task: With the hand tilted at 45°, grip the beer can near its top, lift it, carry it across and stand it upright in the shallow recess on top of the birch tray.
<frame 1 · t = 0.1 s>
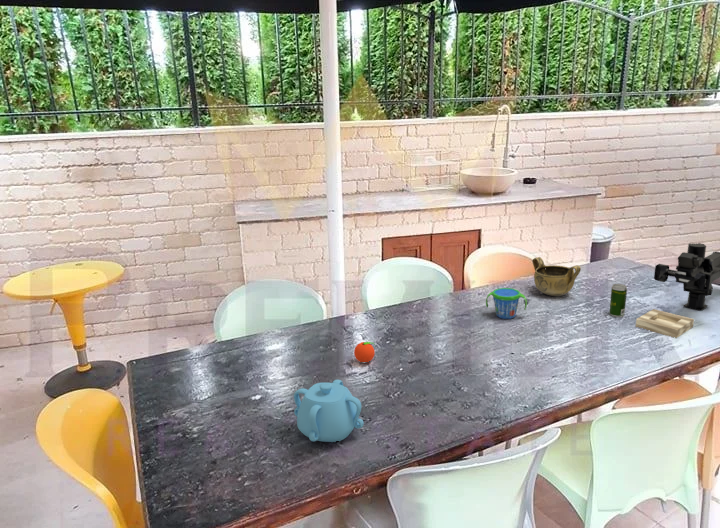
hand: (672, 282, 187), 17 cm above the table, tool horizontal, fingers open, 9 cm apart
beer can: (616, 315, 203), on the table
decorative pot: (329, 431, 138), on the table
snack cup: (505, 316, 207), on the table
birch tray: (663, 327, 190), on the table
clementine: (366, 362, 175), on the table
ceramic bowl: (553, 294, 228), on the table
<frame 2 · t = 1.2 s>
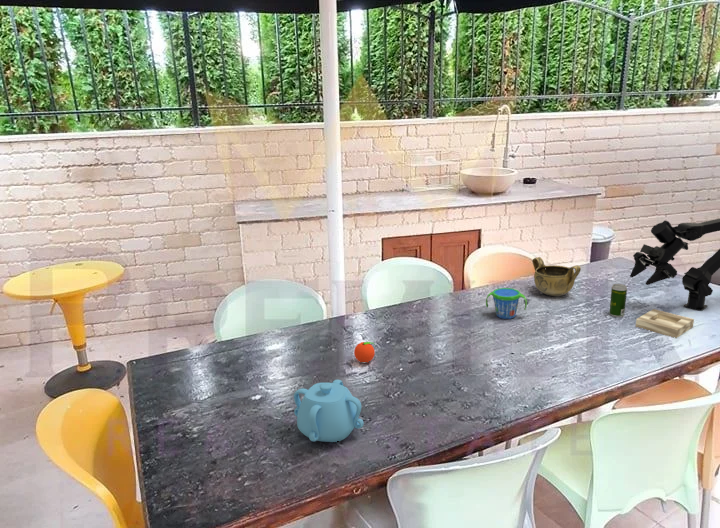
hand: (638, 280, 200), 13 cm above the table, tool tilted 45°, fingers open, 9 cm apart
nothing on the table moved.
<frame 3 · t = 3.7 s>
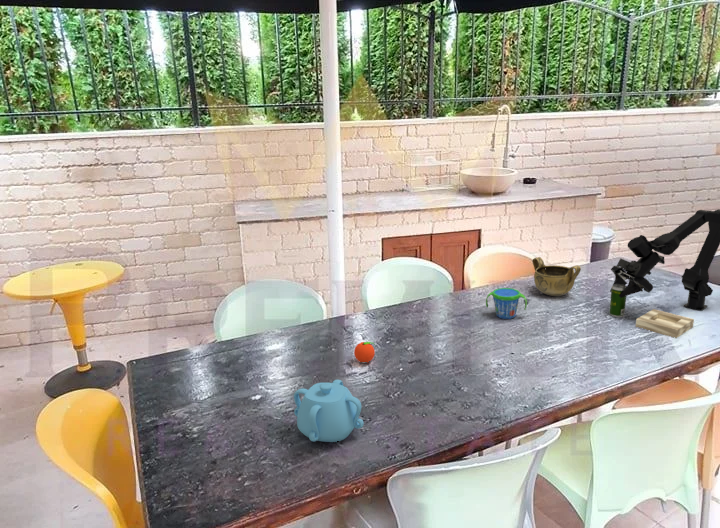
hand: (615, 294, 200), 9 cm above the table, tool tilted 45°, fingers closed on beer can, 5 cm apart
beer can: (616, 315, 203), on the table, touching gripper
everything else where it was.
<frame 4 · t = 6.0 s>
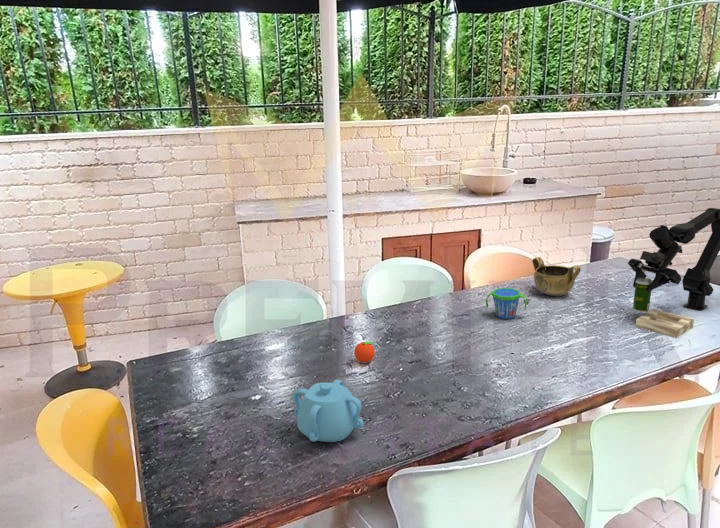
hand: (640, 289, 191), 13 cm above the table, tool tilted 45°, fingers closed on beer can, 5 cm apart
beer can: (640, 310, 194), point 4 cm above the table, touching gripper
everything else where it was.
when the fingers open (10 cm above the table, at t = 8.4 s): beer can stays where it is, resting on birch tray.
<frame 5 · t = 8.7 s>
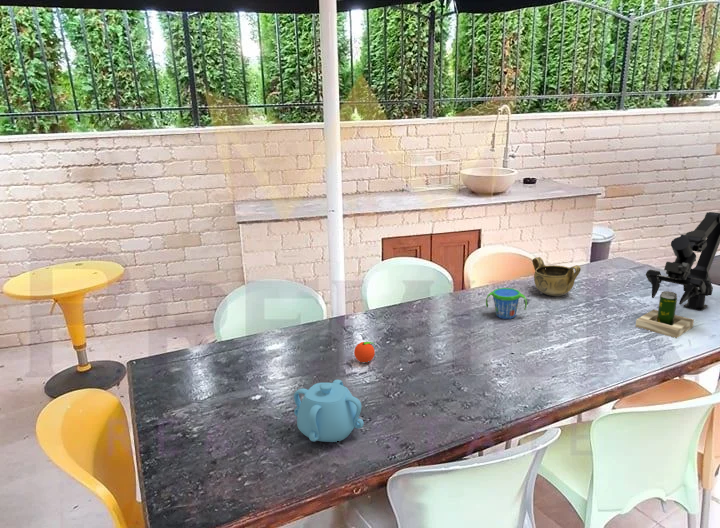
hand: (665, 300, 186), 11 cm above the table, tool tilted 45°, fingers open, 9 cm apart
beer can: (664, 324, 190), point 1 cm above the table, touching birch tray
birch tray: (663, 328, 190), on the table, touching beer can
everything else where it was.
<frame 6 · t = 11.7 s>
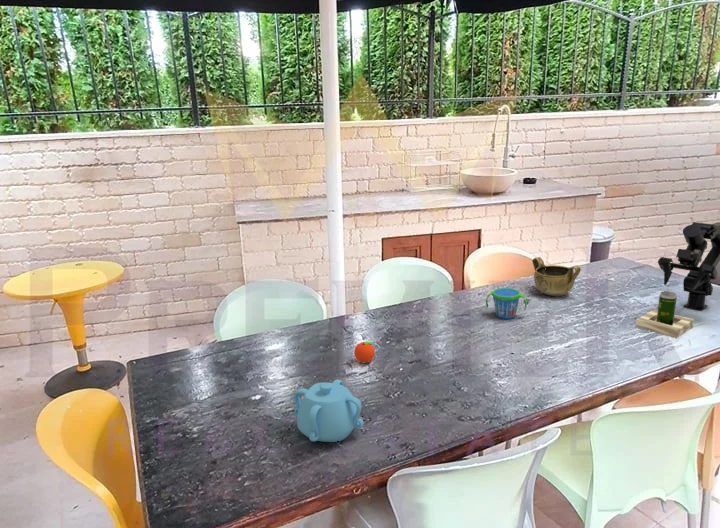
hand: (678, 287, 191), 13 cm above the table, tool tilted 45°, fingers open, 9 cm apart
nothing on the table moved.
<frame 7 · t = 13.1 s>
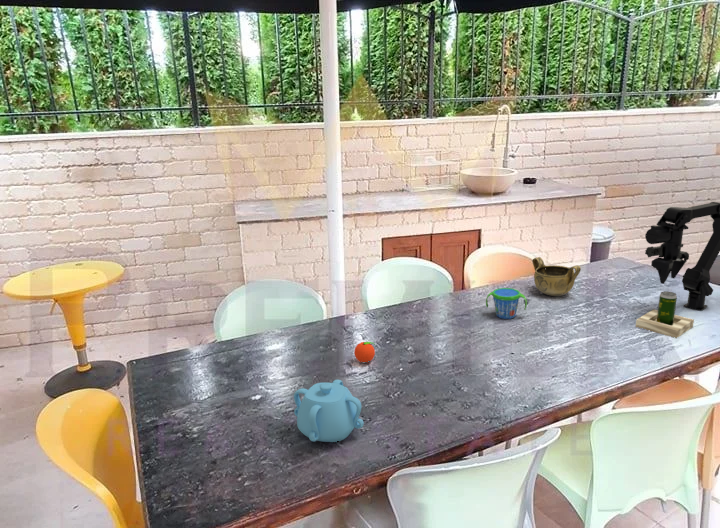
hand: (667, 280, 199), 13 cm above the table, tool pointing down, fingers open, 9 cm apart
nothing on the table moved.
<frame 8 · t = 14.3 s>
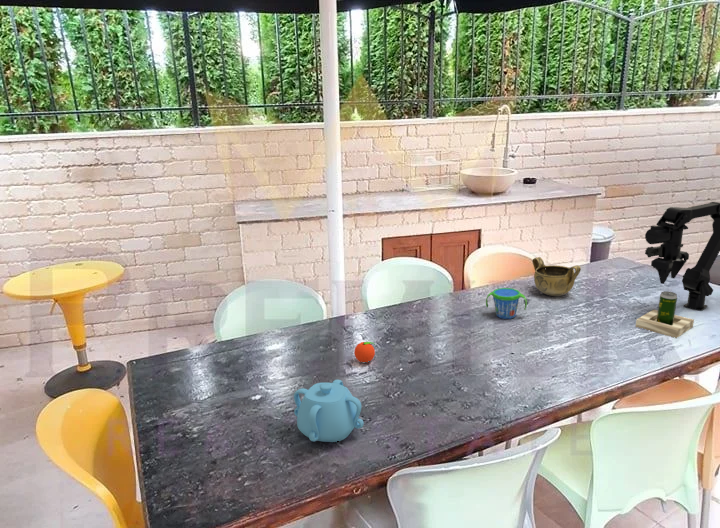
hand: (667, 280, 199), 13 cm above the table, tool pointing down, fingers open, 9 cm apart
nothing on the table moved.
at the end: beer can 0.1 cm off-centre on the birch tray, point 1.3 cm above the birch tray's base; beer can tilted 1°; the gripper is holding nothing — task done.
